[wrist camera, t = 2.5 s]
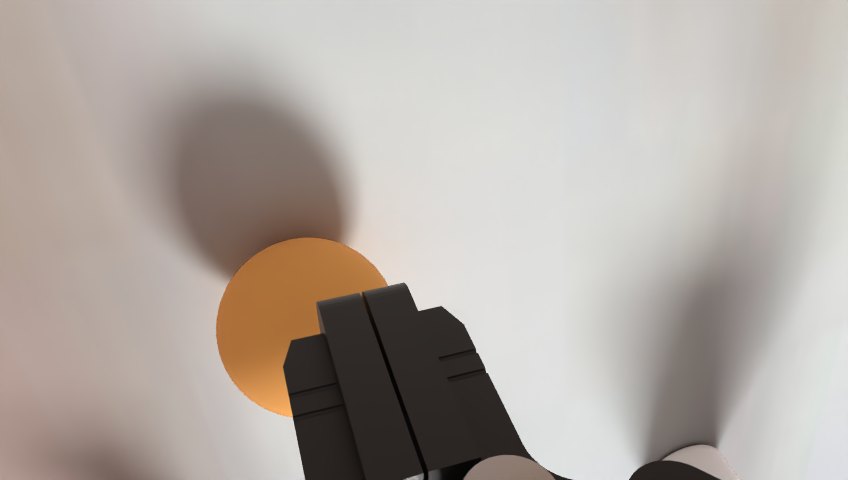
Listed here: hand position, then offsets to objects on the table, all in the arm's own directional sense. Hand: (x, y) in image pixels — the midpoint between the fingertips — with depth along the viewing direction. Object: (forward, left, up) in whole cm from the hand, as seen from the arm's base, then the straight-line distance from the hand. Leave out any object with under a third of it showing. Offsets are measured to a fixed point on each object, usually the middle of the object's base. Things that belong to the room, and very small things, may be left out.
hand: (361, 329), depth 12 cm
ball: (+9, 0, -9) cm, 13 cm away
